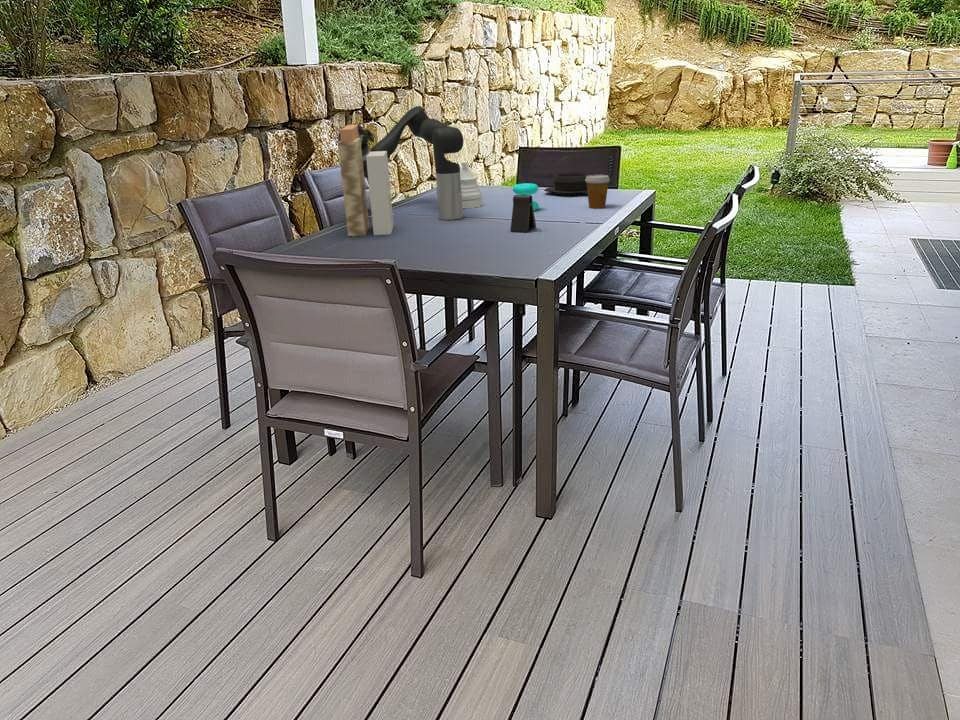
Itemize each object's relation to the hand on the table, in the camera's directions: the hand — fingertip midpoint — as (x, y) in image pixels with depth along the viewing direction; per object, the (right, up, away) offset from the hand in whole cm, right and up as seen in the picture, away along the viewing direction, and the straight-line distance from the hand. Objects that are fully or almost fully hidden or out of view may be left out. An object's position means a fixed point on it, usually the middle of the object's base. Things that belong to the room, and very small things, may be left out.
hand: (352, 127), depth 268 cm
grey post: (+11, -37, +2) cm, 38 cm away
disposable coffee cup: (+92, -24, +26) cm, 99 cm away
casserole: (+87, -11, +59) cm, 106 cm away
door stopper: (+61, -39, -9) cm, 73 cm away
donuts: (+64, -25, +27) cm, 74 cm away
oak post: (+2, -37, +2) cm, 37 cm away
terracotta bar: (+1, -6, -5) cm, 8 cm away
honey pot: (+41, -20, +42) cm, 62 cm away
